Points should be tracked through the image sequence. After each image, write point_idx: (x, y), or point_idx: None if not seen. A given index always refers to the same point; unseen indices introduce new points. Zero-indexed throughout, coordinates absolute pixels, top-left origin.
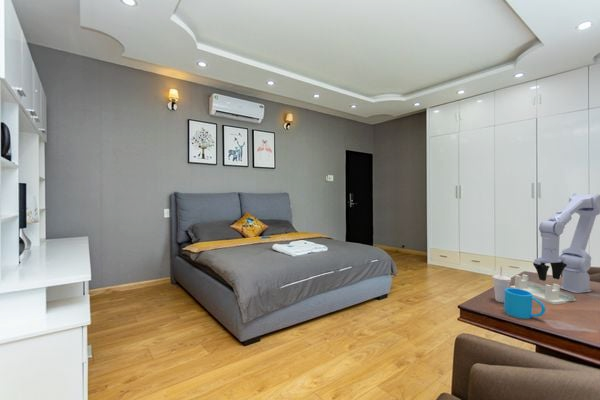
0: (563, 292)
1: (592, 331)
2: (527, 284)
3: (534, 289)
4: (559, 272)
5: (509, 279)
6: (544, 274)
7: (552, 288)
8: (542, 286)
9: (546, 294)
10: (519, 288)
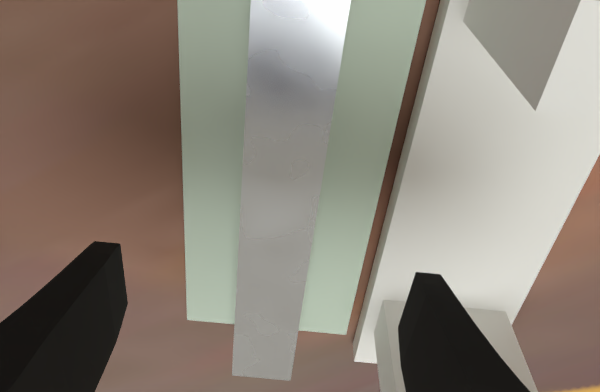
0: (285, 12)
1: None
2: (397, 334)
3: (313, 269)
4: (49, 343)
5: None
6: (510, 370)
7: (249, 173)
8: (290, 254)
9: None
10: (500, 315)
